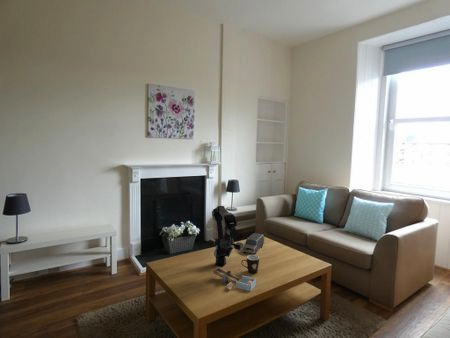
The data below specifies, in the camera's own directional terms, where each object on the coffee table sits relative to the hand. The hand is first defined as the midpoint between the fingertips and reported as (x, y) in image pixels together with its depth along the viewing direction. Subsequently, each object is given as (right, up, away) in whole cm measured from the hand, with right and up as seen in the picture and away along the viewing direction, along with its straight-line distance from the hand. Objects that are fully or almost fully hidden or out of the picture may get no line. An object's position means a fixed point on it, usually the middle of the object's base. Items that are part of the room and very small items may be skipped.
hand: (228, 256), depth 178 cm
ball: (+13, -12, -13) cm, 22 cm away
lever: (-4, -12, -9) cm, 15 cm away
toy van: (+22, -9, +47) cm, 53 cm away
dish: (+11, -14, -12) cm, 21 cm away
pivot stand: (-1, -13, -6) cm, 15 cm away
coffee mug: (+15, -12, +7) cm, 21 cm away
